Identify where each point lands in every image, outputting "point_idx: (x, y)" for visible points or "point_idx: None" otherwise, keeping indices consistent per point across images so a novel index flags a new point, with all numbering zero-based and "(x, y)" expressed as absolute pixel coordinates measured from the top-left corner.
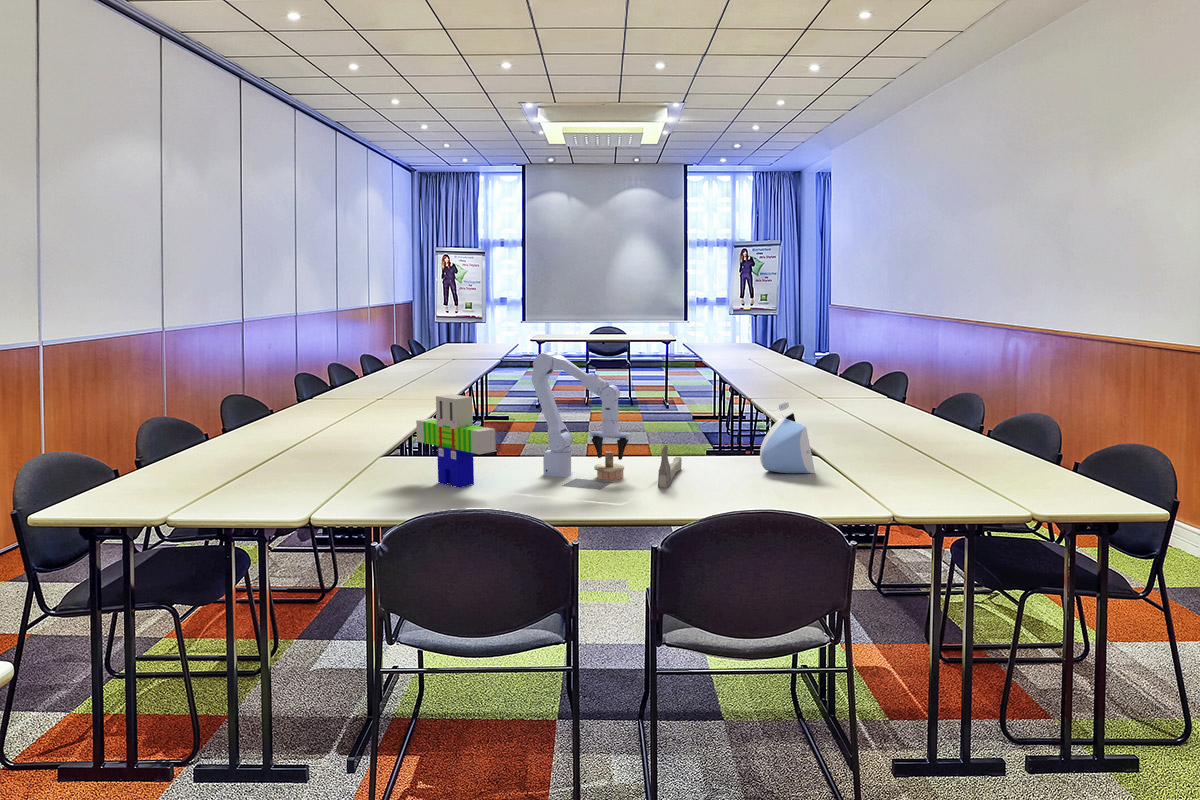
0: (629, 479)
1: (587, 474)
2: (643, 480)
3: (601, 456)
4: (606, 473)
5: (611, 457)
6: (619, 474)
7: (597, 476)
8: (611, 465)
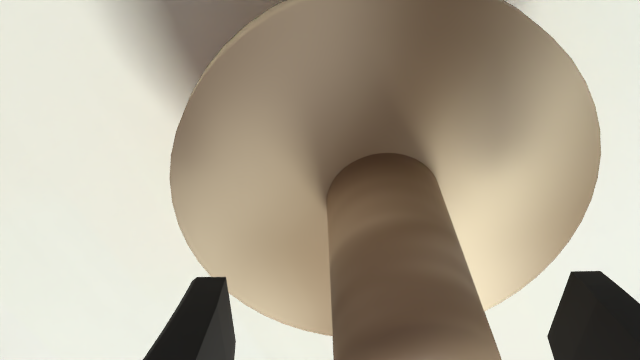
0: (161, 169)
1: (635, 207)
2: (14, 179)
3: (557, 335)
4: None
5: (344, 277)
6: None
7: None
8: (337, 189)
